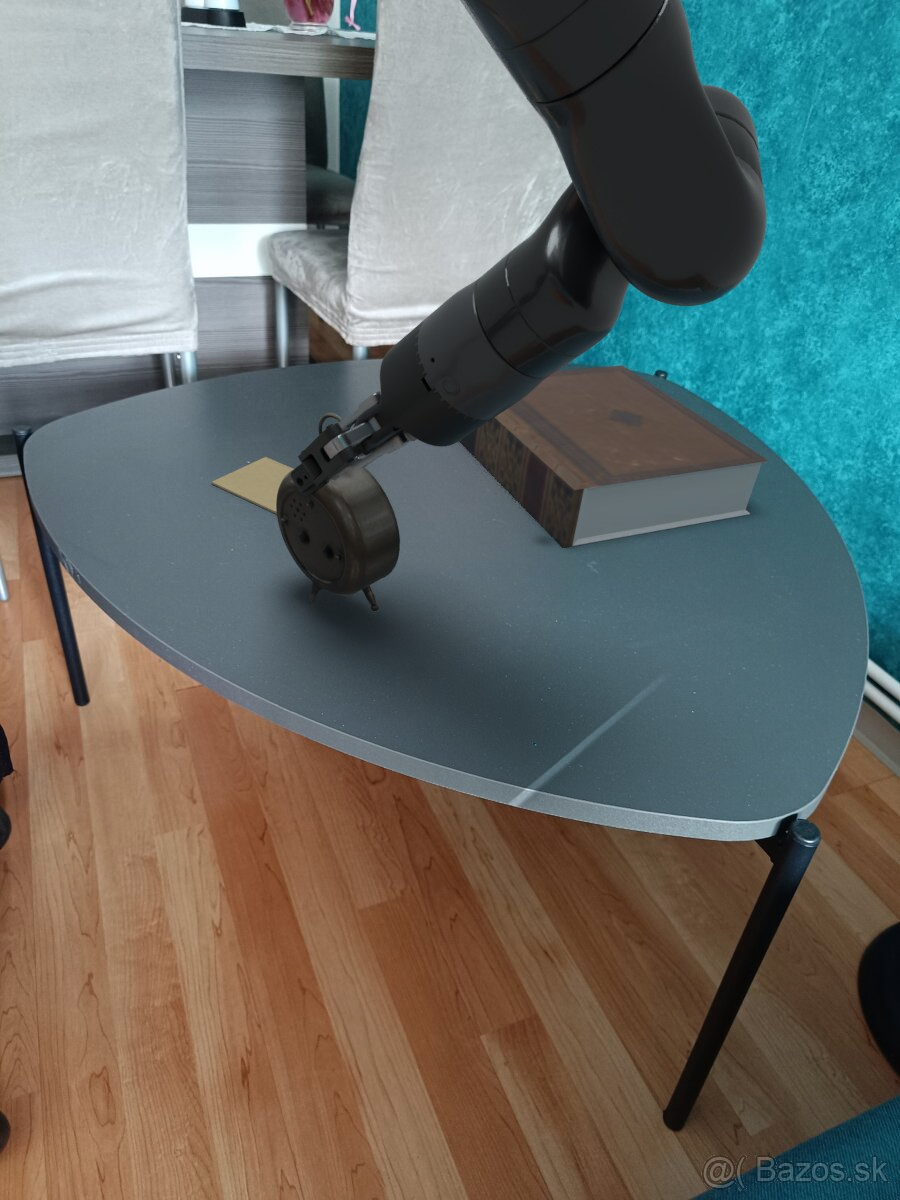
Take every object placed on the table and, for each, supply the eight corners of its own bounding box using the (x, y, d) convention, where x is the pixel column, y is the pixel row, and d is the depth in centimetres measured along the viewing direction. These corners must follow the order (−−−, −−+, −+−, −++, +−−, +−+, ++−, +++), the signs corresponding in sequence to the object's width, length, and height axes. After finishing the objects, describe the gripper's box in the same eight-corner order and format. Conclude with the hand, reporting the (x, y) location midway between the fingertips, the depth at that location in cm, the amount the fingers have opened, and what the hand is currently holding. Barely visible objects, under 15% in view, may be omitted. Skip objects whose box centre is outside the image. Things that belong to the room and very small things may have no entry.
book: (562, 547, 83) (574, 490, 79) (448, 430, 103) (453, 379, 99) (750, 514, 92) (769, 461, 89) (612, 412, 112) (622, 365, 109)
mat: (297, 524, 82) (297, 521, 82) (211, 484, 87) (211, 481, 87) (349, 495, 88) (349, 492, 88) (265, 459, 93) (265, 456, 93)
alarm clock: (399, 610, 70) (411, 430, 60) (350, 636, 66) (355, 450, 57) (316, 555, 75) (314, 382, 66) (267, 576, 72) (258, 398, 62)
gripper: (495, 289, 57) (356, 404, 69) (364, 336, 47) (228, 461, 59) (551, 385, 58) (404, 482, 70) (433, 450, 48) (285, 550, 60)
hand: (324, 472), depth 65 cm, fingers closed on alarm clock, 5 cm apart
